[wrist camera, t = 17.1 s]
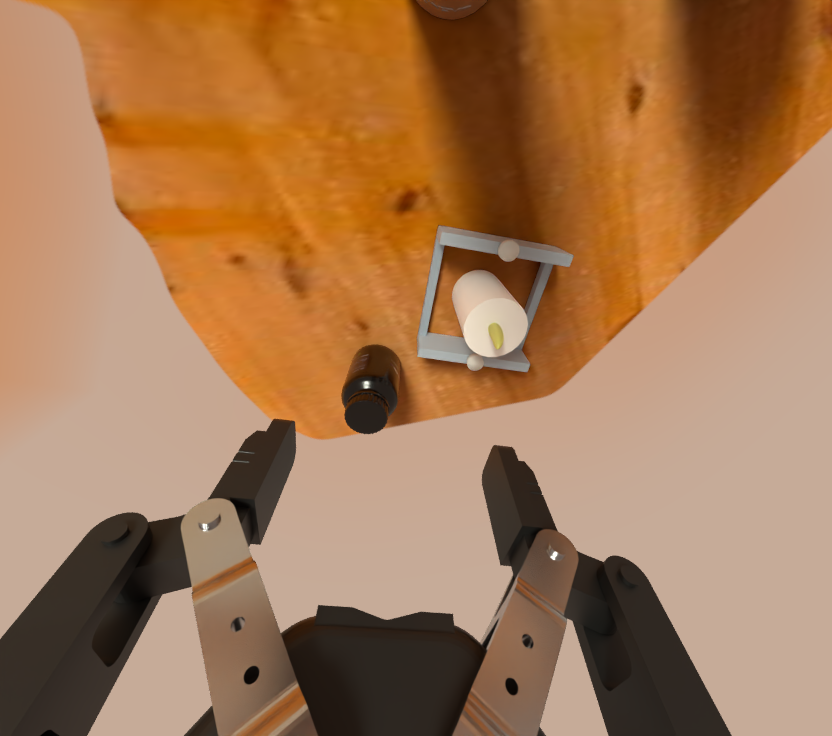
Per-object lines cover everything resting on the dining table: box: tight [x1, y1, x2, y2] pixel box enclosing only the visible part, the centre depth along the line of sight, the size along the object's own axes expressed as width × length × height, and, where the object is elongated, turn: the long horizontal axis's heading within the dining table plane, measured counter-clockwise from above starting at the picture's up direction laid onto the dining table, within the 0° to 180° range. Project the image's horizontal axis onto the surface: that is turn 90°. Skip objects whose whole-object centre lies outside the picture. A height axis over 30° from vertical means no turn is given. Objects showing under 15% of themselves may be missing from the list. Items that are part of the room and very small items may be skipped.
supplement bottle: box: [341, 345, 400, 434], centre depth 41 cm, size 7×7×12 cm
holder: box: [417, 225, 574, 372], centre depth 39 cm, size 15×14×6 cm
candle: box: [452, 270, 528, 357], centre depth 35 cm, size 6×6×15 cm
